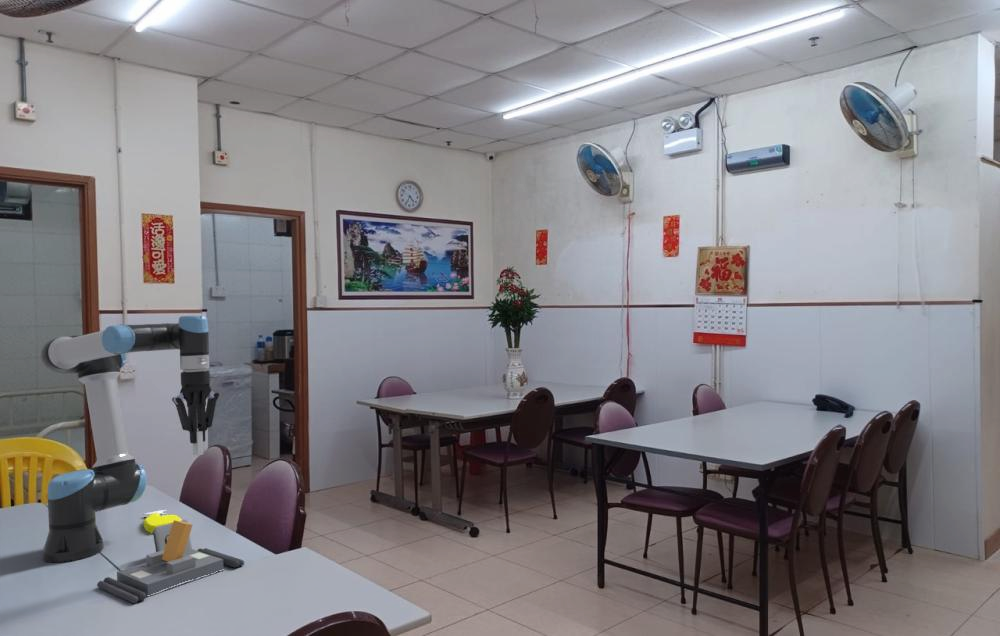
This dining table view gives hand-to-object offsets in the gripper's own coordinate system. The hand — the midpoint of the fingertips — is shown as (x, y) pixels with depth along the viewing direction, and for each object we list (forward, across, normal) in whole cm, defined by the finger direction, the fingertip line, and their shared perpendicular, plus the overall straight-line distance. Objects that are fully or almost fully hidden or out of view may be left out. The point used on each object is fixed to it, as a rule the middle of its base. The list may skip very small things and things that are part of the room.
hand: (198, 454), depth 193 cm
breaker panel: (+29, -12, -6) cm, 32 cm away
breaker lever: (+25, -12, -6) cm, 29 cm away
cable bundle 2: (+29, +1, -6) cm, 30 cm away
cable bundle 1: (+29, -24, -6) cm, 38 cm away
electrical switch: (+30, -3, +11) cm, 32 cm away
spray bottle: (+30, +11, +46) cm, 56 cm away
